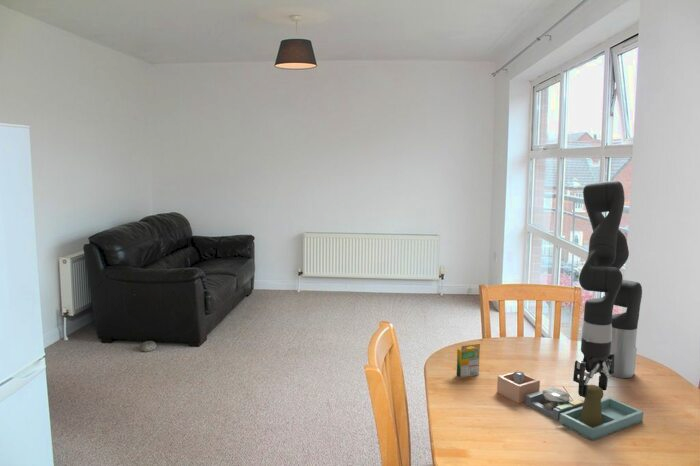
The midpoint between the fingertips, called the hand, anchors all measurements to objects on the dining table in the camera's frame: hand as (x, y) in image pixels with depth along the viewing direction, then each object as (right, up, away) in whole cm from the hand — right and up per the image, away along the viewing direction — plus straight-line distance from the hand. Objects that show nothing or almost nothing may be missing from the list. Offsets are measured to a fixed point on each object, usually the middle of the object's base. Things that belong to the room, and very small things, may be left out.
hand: (592, 392), depth 155 cm
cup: (-15, -7, +21) cm, 26 cm away
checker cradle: (-6, -8, +12) cm, 16 cm away
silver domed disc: (-6, -7, +12) cm, 15 cm away
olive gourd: (0, -10, +2) cm, 10 cm away
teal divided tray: (+4, -10, +4) cm, 11 cm away
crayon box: (-27, -5, +36) cm, 46 cm away
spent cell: (-15, -7, +21) cm, 26 cm away
